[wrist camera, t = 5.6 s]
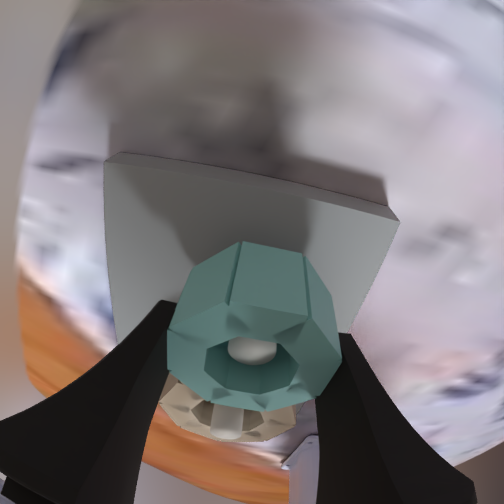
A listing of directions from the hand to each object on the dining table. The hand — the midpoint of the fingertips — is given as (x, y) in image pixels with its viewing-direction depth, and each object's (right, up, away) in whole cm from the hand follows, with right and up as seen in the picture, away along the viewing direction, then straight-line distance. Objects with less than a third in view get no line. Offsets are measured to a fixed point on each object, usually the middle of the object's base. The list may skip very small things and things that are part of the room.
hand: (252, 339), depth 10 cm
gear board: (-1, -1, +6) cm, 6 cm away
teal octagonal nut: (0, +1, +1) cm, 2 cm away
